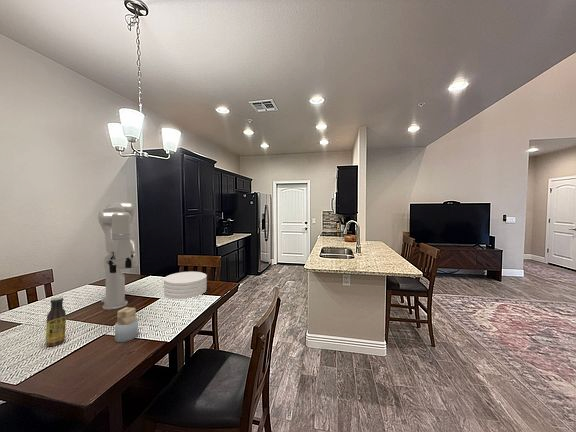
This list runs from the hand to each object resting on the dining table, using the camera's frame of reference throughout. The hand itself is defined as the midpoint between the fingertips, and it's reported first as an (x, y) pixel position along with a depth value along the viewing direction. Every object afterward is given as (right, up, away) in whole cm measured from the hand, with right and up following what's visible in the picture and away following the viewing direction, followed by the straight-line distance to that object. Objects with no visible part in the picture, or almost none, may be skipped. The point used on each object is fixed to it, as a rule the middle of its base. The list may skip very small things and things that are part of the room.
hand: (120, 270), depth 125 cm
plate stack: (+13, -27, +49) cm, 57 cm away
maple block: (+10, -22, -11) cm, 26 cm away
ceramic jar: (+10, -29, -10) cm, 32 cm away
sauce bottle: (-17, -29, -17) cm, 38 cm away
